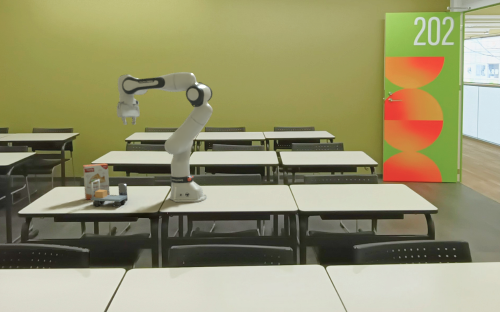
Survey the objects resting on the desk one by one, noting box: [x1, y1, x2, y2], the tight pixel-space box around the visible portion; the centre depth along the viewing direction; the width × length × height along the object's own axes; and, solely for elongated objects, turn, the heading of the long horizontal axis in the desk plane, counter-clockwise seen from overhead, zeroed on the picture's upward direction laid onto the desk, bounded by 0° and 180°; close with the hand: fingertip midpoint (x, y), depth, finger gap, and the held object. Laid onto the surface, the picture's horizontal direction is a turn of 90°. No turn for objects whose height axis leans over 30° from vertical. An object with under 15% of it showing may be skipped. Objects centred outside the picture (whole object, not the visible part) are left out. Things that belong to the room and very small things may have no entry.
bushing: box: [117, 182, 128, 202], centre depth 286 cm, size 5×5×10 cm
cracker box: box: [82, 162, 111, 201], centre depth 292 cm, size 14×6×21 cm, turn 117°
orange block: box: [95, 190, 107, 198], centre depth 277 cm, size 5×5×4 cm
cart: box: [90, 179, 128, 208], centre depth 276 cm, size 18×9×14 cm, turn 77°
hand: (129, 124), depth 289 cm, fingers open, 8 cm apart
